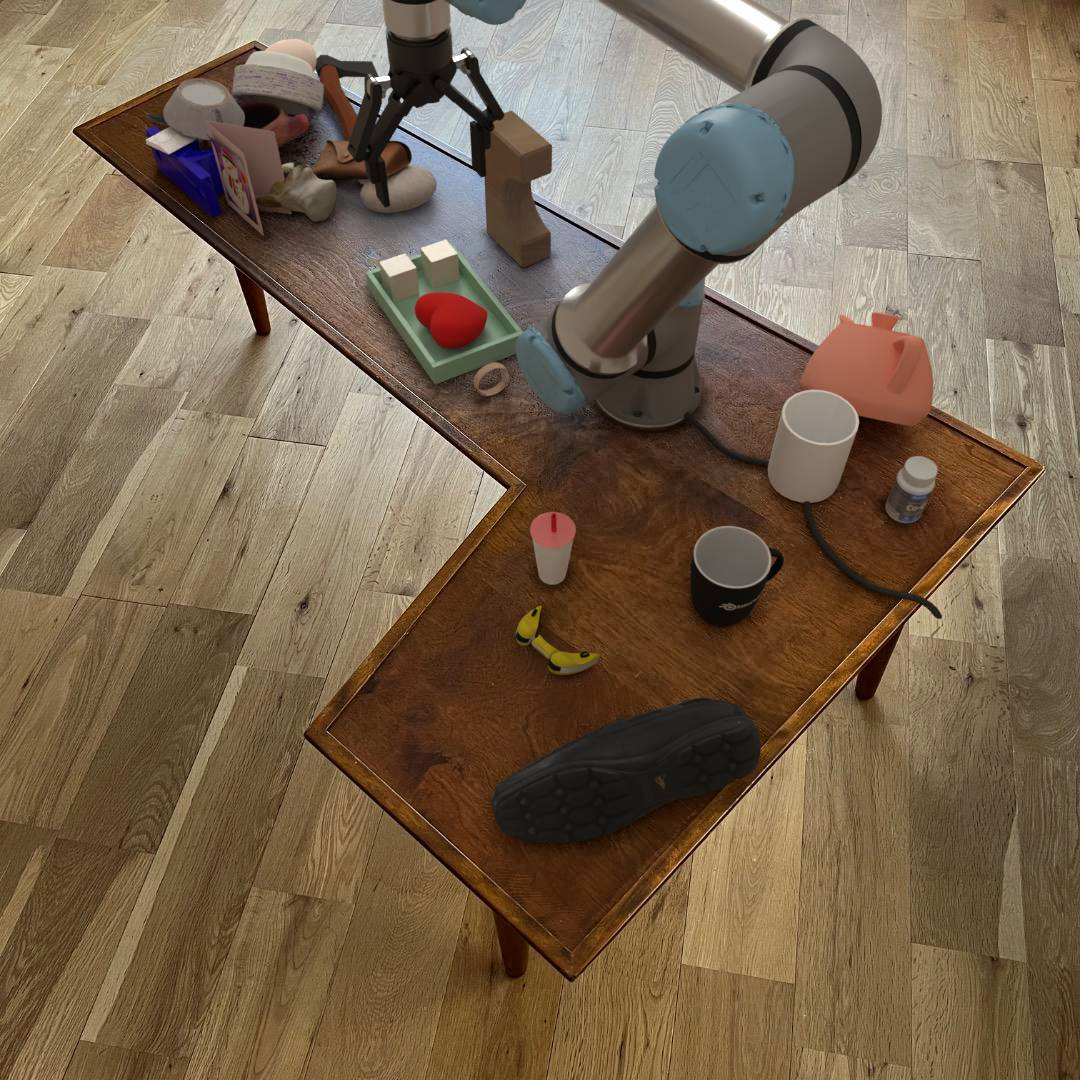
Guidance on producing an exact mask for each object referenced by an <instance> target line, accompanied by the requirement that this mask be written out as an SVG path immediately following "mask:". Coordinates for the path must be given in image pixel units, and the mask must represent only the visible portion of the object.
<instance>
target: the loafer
mask: <svg viewBox="0 0 1080 1080" xmlns="http://www.w3.org/2000/svg"><path fill="white" fill-rule="evenodd" d="M761 744H762V743H761V736H760V733H759V730H758V727H756V724H755V722H754V721H753V720H752V718H751V717H750V715H749V714H748V713H747V711H745V709H744V708H743V707H742V706H740V705H739V704H737V703H732V702H730V701H727V700H723V699H716V698H710V697H696V698H689V699H686V700H684V701H681V702H679V703H674V704H670V705H666V706H663V707H659V708H656V709H652V710H648V711H646V712H642V713H640V714H635V715H633V716H631V717H627V718H625V719H622V716H618V717H617V718H616V719H615V720H613V721H610V722H609V723H607V724H605V725H603V726H601V727H598V728H596V729H594V730H591V731H589V732H587V733H585V734H583V735H582V736H579V737H578V738H575V739H573V740H570V741H568V742H567V743H564V744H562V745H561V746H559V747H556V748H555V749H553V750H551V751H550V752H548V753H545V754H543V755H542V756H540V757H539V758H537V759H535V760H533V761H532V762H530V763H528V764H527V765H525V766H524V767H521V769H518V770H517V771H515V772H514V773H511V774H510V775H509V776H507V777H506V778H505V779H504V780H502V781H500V782H498V783H497V785H496V786H495V787H494V790H493V792H492V796H491V807H492V813H493V817H494V821H495V824H496V825H497V827H498V829H499V830H500V832H501V833H502V834H505V835H506V836H507V837H509V838H512V839H515V840H519V841H523V842H529V843H536V844H538V843H539V844H571V843H575V842H577V843H578V842H583V841H590V840H594V839H599V838H602V837H607V836H609V835H611V834H613V833H615V832H617V831H619V830H621V829H623V828H625V827H627V826H629V825H631V824H633V823H634V822H636V821H637V820H639V819H641V818H642V817H644V816H646V815H647V814H649V813H650V812H652V811H655V810H657V809H659V808H661V807H663V806H665V805H667V804H670V803H672V802H674V801H678V800H680V799H686V798H692V797H700V796H702V795H703V796H704V795H705V794H706V793H712V792H714V791H718V790H720V789H722V788H724V787H727V786H729V785H732V784H734V783H735V781H737V780H741V779H744V778H745V777H747V776H749V774H751V773H752V772H753V771H754V770H755V769H756V768H757V766H758V764H759V763H760V759H761V752H762V750H761Z"/></svg>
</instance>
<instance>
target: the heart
mask: <svg viewBox="0 0 1080 1080" xmlns="http://www.w3.org/2000/svg"><path fill="white" fill-rule="evenodd" d="M415 315H416V317H417V319H418V321H419V322H420V323H421V324H422V325H423V326H425V327H426V328H428V329H430V332H431V335H432V338H433V339H434V341H435V342H436V343H437V344H438V345H440V346H441V347H443V348H448V349H453V348H459V347H463V346H465V345H468V344H470V343H471V342H473V341H474V340H476V339H477V338H478V337H479V336H480V334H481V333H482V331H483V330H484V327H485V325H486V321H487V311H486V310H485V309H484V308H482V307H481V306H479V305H478V304H476V303H474V302H473V301H471V300H469V299H467V298H465V297H463V296H461V295H458V294H453V293H445V292H435V293H428V294H425V295H423V296H421V297H420V298H419V299H418V300H417V302H416V305H415Z"/></svg>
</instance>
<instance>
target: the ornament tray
mask: <svg viewBox="0 0 1080 1080" xmlns="http://www.w3.org/2000/svg"><path fill="white" fill-rule="evenodd" d="M449 243H450V245H451V246H452V247H453V248H454V250H455V251H456V252H457V253H458V264H459V278H460V280H458V281H455V282H452V283H450V284H447V285H444V286H441V287H438V288H435V289H434V288H433V287H432V286H431V284H430V283H429V282H428V280H427V279H426V278H425V276H424V275H423V270H422V261H421V252H420V253H417V254H414V255H412V256H408V257H409V259H410V260H411V261H412V263H413V264H414V265H415V267H416V268H417V276H418V285H419V294H418V295H415V296H413V297H410V298H407V299H404V300H401V301H398V302H396V303H393V302H392V301H391V299H390V298H389V296H388V295H387V294H386V292H385V291H384V289H383V288H382V281H381V274H380V267H379V266H378V267H376V268H373V269H371V270H368V271H365V278H366V284H367V289H368V291H369V293H370V294H371V296H372V297H373V299H374V300H375V301H376V302H377V305H378V306H379V307H380V309H381V310H382V311H383V313H384V314H385V315H386V317H387V319H388V320H389V322H391V324H392V326H393V327H394V328H395V330H396V331H397V332H398V334H399V335H400V337H401V338H402V339H403V341H404V343H405V344H406V345H407V347H408V348H409V350H410V351H411V353H412V354H413V356H414V357H415V359H416V360H417V361H418V363H419V364H420V366H421V367H422V368H423V370H424V371H425V372H426V374H427V375H428V377H429V378H430V380H431V381H432V383H433V384H434V385H437V384H440V383H443V382H446V381H449V380H451V379H453V378H456V377H459V376H461V375H464V374H467V373H469V372H472V371H474V370H477V369H481V368H482V367H485V365H488V364H490V363H495V362H498V361H501V360H503V359H506V358H508V357H510V356H513V355H516V341H517V339H518V337H519V336H520V335H521V334H522V333H523V332H524V331H523V329H522V328H521V327H520V325H519V324H518V322H516V321H515V319H514V318H513V317H512V316H511V314H510V313H509V312H508V311H507V309H506V308H505V307H504V305H503V304H502V303H501V302H500V300H498V298H497V297H496V296H495V294H494V293H493V292H492V290H491V289H490V288H489V287H488V286H487V284H486V283H485V282H484V280H483V279H482V278H481V276H480V275H478V273H477V272H476V271H475V269H474V268H473V267H472V265H471V264H470V263H469V262H468V261H467V259H466V258H465V257H464V256H463V254H462V252H460V250H459V249H458V248H457V247H456V246H455V244H454V243H453V242H449ZM435 292H445V293H453V294H458V295H461V296H463V297H465V298H467V299H469V300H471V301H473V302H474V303H476V304H478V305H479V306H481V307H482V308H484V309H485V310H486V311H487V321H486V325H485V327H484V330H483V331H482V333H481V334H480V336H479V337H478V338H477V339H476V340H474V341H473V342H471V343H470V344H468V345H465V346H463V347H459V348H453V349H448V348H443V347H441V346H440V345H438V344H437V343H436V342H435V341H434V339H433V338H432V335H431V332H430V329H428V328H426V327H425V326H423V325H422V324H421V323H420V322H419V321H418V319H417V317H416V315H415V305H416V302H417V300H418V299H419V298H420V297H421V296H423V295H425V294H428V293H435Z"/></svg>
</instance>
